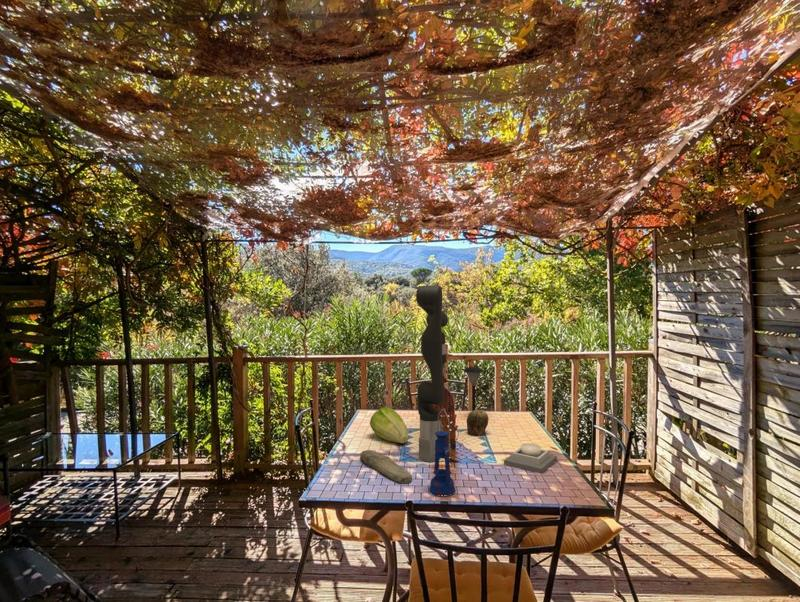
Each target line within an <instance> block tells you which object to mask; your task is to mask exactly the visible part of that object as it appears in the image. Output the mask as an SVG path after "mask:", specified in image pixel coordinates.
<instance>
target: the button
mask: <svg viewBox="0 0 800 602" xmlns="http://www.w3.org/2000/svg"><path fill="white" fill-rule="evenodd" d="M520 448H521V454H523V455H528V456H533V457H538V456H540V455H541V448H542V447H541V445H539V444H536V443H522V444H521V445H520Z"/></svg>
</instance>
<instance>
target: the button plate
mask: <svg viewBox="0 0 800 602" xmlns="http://www.w3.org/2000/svg"><path fill="white" fill-rule="evenodd" d="M557 461H558V456H557V455H556V454H552V453H551V454H550V451H549V450H546V449H541V455H540V456H538V457H533V456H528V455H523V454H521V447H520V448H517V449H516V450H515V451H514V452H512V454H510V455H508V457H507V458H505V459H504V460H503V465H504V466H508V467H512V468H517V469H520V470H525V471H529V472H532V473H533V472H534V473H537V474H543V473H544V472H546V470H548V469H549V468H550V467H551V466H552V465H554V464H555V462H557Z"/></svg>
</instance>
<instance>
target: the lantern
mask: <svg viewBox="0 0 800 602" xmlns="http://www.w3.org/2000/svg"><path fill="white" fill-rule="evenodd" d="M443 411H444V414H445V415H446V416H445V417H446V419H447V420H448V421H447V422H448V431H444V424H442V423H441V425H440V430H441V431H439V414H440V413H441V412H443ZM439 412H440V413H439V414H438V431H437V432H435V435H436V436H437V439H436V440H435V455H434V456H435V461H434V466H433V467H434V470H433V473H432V474H434V476H433V477H431V479H430V482H429V484H430V485H429V490H428V491H430V492H431V493H432V494H431V493H430V492H429V493H430V494H431V495H433V494H434V495H433V496H435V495H440V496H439V497H441V495H443V496H444V495H450V494H453V493H454V492H455V493H456V487H455V482H454V480H453V478H452V477H451V474H452V472H451V464H450V457H451V455H450V453H451V425H450V423H451V422H450V419H449V416H448V414H447V412H446V409H444V408H442V409H441V410H439ZM447 438H448V439H447ZM439 458H441V459H444V466H445V467H444V468H440V460H439ZM455 493H454V494H455ZM454 494H453V495H454ZM450 496H451V495H450Z"/></svg>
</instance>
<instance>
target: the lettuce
mask: <svg viewBox="0 0 800 602" xmlns="http://www.w3.org/2000/svg"><path fill="white" fill-rule="evenodd" d="M369 425H370V428H371V429H372V431H373V432H374V434H375V435H377V436H378V437H379V438H380V439H382V440H384V441H388V442H392V443H400V444H404V443H406V442H407V441H408V440H409V432H408V431H409V430H408V428H407V427H408V426H407V425H406V423H405V421H404V420H403V417H401V415H400V414H398V412H397V411H396V410H395V409H393V408H391V407H388V406H383V407H381V408H379V409H378V410H376V411H375V412H374V413H373V414H372V416H371V417H370V421H369Z"/></svg>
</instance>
